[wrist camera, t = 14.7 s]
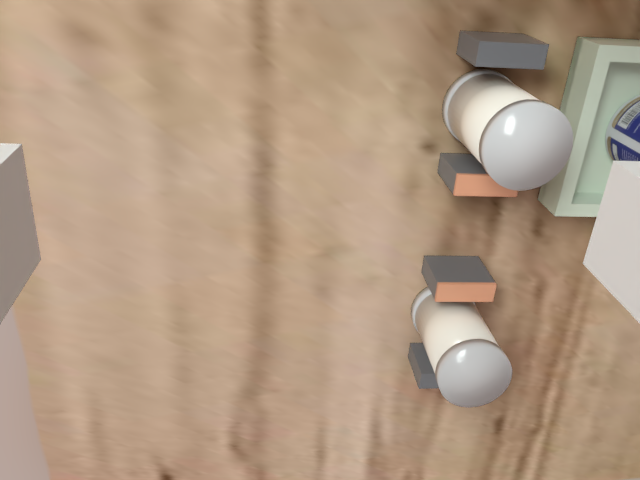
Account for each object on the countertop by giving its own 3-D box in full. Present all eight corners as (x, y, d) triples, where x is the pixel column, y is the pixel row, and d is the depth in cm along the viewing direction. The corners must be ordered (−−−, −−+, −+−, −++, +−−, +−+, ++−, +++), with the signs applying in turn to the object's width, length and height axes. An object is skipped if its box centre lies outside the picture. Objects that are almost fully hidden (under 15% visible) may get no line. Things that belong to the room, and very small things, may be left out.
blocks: (460, 30, 41) (481, 42, 37) (523, 33, 41) (551, 45, 37) (408, 357, 53) (419, 391, 49) (457, 356, 53) (472, 390, 50)
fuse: (448, 67, 42) (493, 102, 34) (521, 70, 42) (583, 105, 34) (436, 140, 44) (476, 189, 36) (506, 142, 45) (561, 191, 37)
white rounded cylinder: (423, 276, 49) (454, 341, 41) (482, 288, 50) (523, 354, 42) (402, 329, 51) (428, 401, 43) (459, 340, 52) (495, 412, 44)
